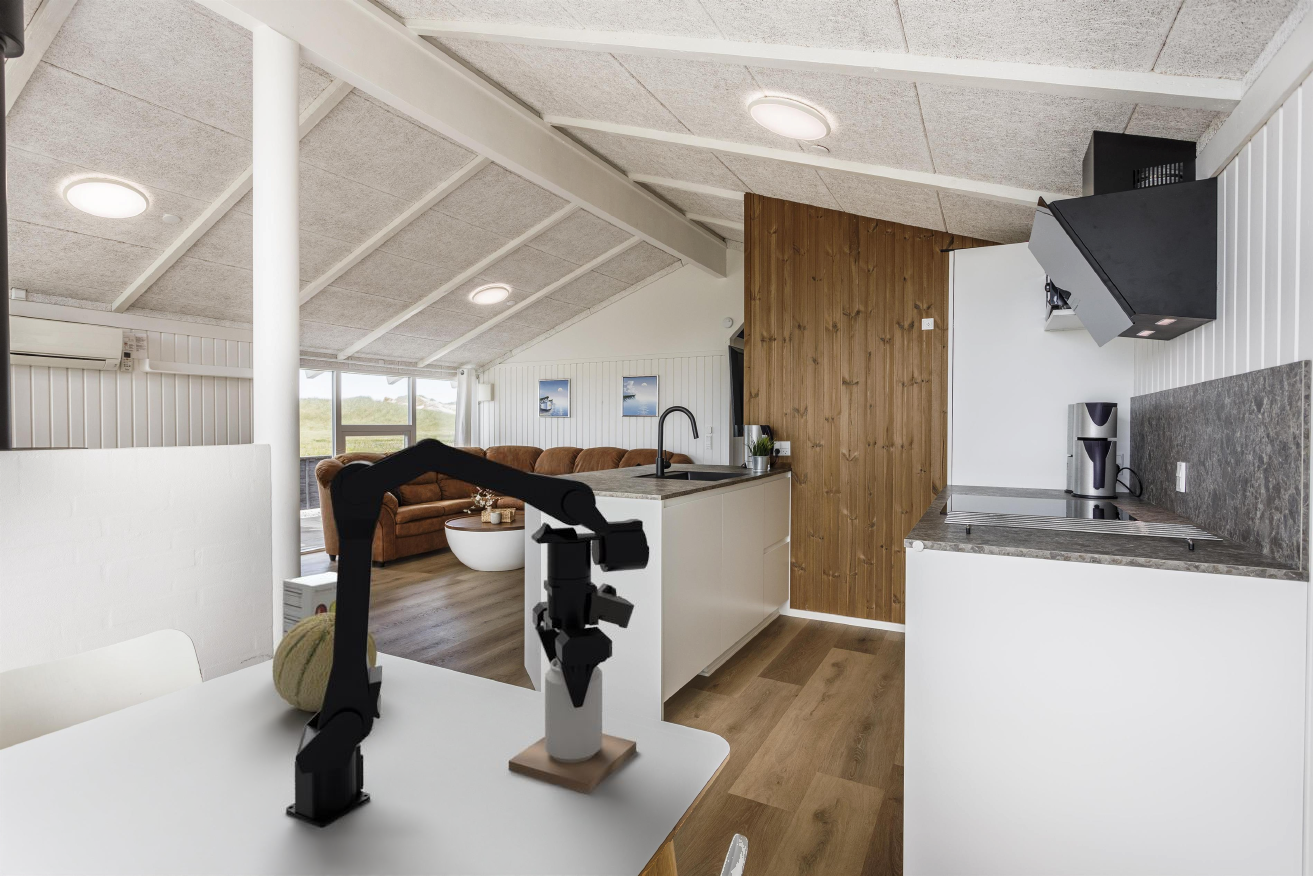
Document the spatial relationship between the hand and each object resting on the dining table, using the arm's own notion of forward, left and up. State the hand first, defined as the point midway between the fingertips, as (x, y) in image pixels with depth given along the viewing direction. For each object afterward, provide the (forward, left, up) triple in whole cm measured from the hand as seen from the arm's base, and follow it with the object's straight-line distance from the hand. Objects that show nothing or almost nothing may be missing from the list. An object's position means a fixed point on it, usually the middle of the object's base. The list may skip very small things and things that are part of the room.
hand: (569, 693), depth 86 cm
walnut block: (+1, 0, -10) cm, 10 cm away
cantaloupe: (-3, +44, -9) cm, 45 cm away
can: (0, -1, -8) cm, 8 cm away
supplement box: (+7, +59, -9) cm, 60 cm away
